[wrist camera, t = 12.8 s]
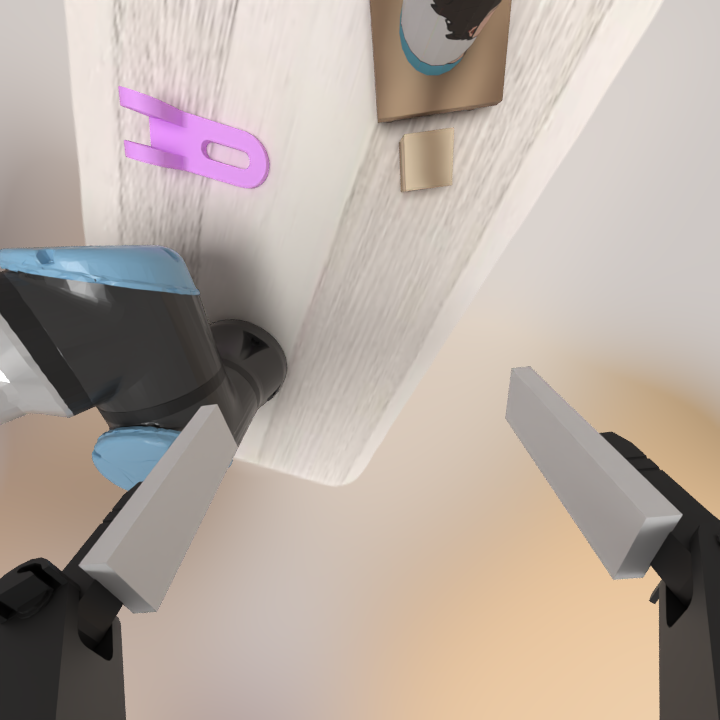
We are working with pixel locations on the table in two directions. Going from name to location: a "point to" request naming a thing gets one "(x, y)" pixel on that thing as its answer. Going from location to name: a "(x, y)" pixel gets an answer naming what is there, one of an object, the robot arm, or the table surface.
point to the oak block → (426, 159)
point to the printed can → (441, 31)
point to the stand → (436, 92)
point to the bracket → (192, 142)
